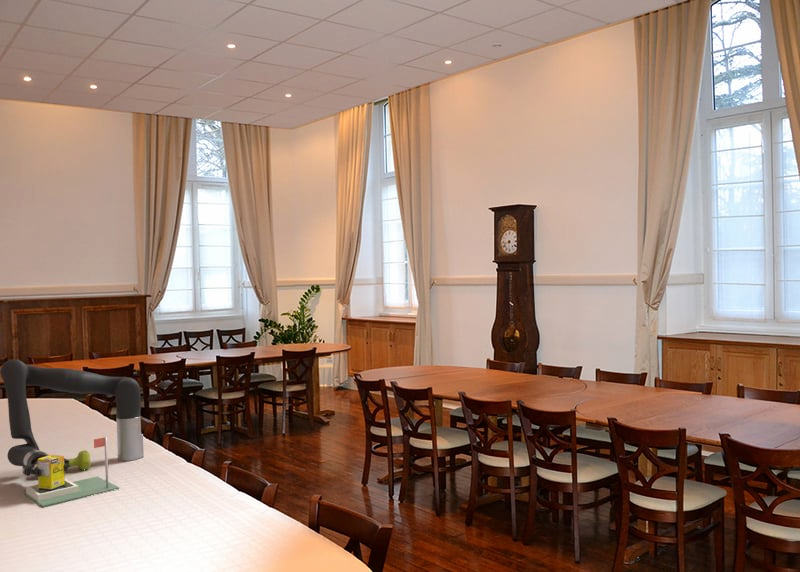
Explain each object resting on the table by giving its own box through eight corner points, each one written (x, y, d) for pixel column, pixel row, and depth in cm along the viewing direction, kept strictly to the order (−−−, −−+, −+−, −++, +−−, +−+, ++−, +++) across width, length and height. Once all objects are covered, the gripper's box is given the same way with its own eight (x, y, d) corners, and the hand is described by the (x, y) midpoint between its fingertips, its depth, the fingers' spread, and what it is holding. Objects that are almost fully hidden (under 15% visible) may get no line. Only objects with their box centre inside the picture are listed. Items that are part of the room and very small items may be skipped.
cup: (97, 477, 254) (95, 428, 253) (119, 489, 239) (117, 436, 239) (24, 494, 236) (22, 441, 236) (43, 507, 222) (41, 451, 221)
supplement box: (65, 486, 238) (64, 455, 238) (51, 491, 232) (50, 460, 232) (52, 484, 240) (51, 454, 239) (38, 490, 234) (37, 458, 234)
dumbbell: (45, 479, 254) (44, 460, 254) (41, 474, 261) (41, 455, 261) (92, 470, 264) (91, 452, 264) (87, 466, 271) (87, 448, 270)
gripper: (15, 455, 241) (30, 464, 229) (58, 447, 251) (74, 455, 239) (16, 476, 241) (30, 486, 229) (59, 467, 251) (74, 476, 240)
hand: (53, 470), depth 234 cm, fingers closed on supplement box, 8 cm apart
